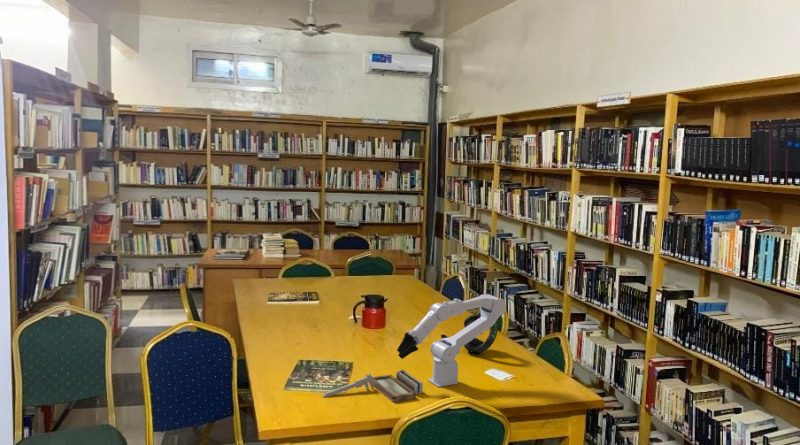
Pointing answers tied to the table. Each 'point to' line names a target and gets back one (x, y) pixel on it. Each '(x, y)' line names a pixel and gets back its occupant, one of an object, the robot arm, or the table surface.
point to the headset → (477, 344)
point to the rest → (393, 388)
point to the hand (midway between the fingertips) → (399, 354)
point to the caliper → (352, 386)
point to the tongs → (409, 381)
